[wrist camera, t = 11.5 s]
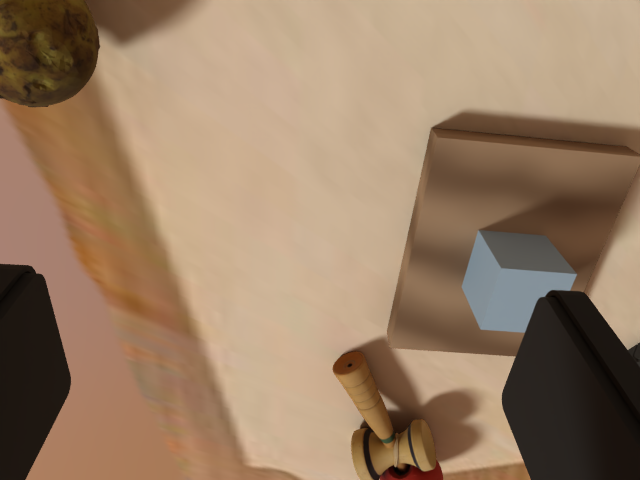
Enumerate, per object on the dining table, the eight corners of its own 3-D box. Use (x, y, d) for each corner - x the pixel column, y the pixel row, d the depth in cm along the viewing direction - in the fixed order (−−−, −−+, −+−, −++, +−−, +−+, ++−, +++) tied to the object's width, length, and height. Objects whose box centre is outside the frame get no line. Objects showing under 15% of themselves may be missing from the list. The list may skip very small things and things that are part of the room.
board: (431, 127, 35) (437, 137, 33) (627, 146, 36) (643, 157, 34) (386, 331, 44) (390, 348, 42) (544, 342, 45) (554, 358, 43)
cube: (478, 229, 37) (501, 268, 32) (545, 235, 37) (577, 274, 33) (461, 286, 39) (480, 329, 35) (524, 291, 40) (551, 334, 35)
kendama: (301, 361, 47) (378, 492, 53) (308, 403, 41) (394, 546, 47) (376, 323, 47) (445, 460, 53) (394, 360, 41) (470, 509, 47)
